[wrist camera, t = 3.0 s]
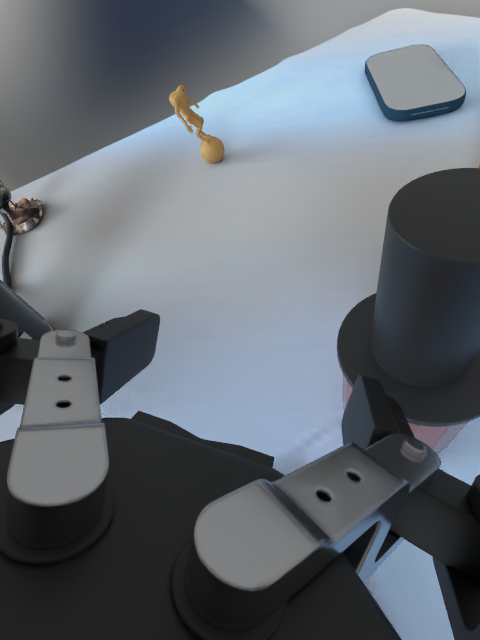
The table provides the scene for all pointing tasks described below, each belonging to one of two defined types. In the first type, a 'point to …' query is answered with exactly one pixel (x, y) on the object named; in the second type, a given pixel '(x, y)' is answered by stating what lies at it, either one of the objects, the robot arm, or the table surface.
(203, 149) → the figurine
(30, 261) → the table surface
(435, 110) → the external hard drive
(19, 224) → the bird sculpture
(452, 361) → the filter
